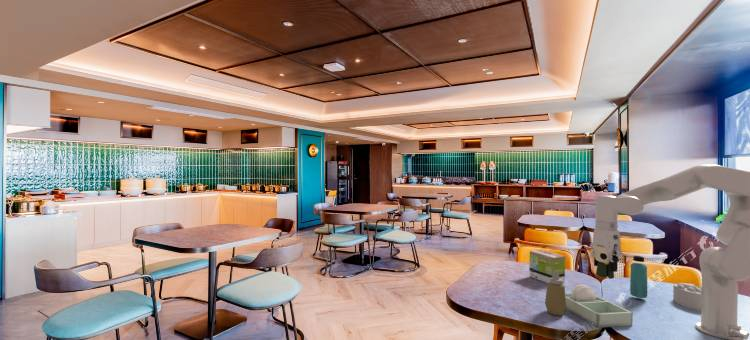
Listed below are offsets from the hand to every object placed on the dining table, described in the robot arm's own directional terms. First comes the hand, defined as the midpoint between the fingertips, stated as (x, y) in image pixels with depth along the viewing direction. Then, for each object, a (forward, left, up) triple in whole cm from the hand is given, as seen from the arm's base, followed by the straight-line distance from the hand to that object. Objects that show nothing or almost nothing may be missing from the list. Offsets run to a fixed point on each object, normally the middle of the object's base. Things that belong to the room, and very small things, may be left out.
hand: (605, 268), depth 140 cm
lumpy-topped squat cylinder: (+7, -50, -20) cm, 54 cm away
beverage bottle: (+16, -32, -20) cm, 41 cm away
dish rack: (+3, +3, -20) cm, 20 cm away
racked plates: (+8, +3, -19) cm, 21 cm away
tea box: (+46, -6, -20) cm, 50 cm away
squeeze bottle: (+6, +18, -20) cm, 28 cm away
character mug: (0, 0, -4) cm, 4 cm away
